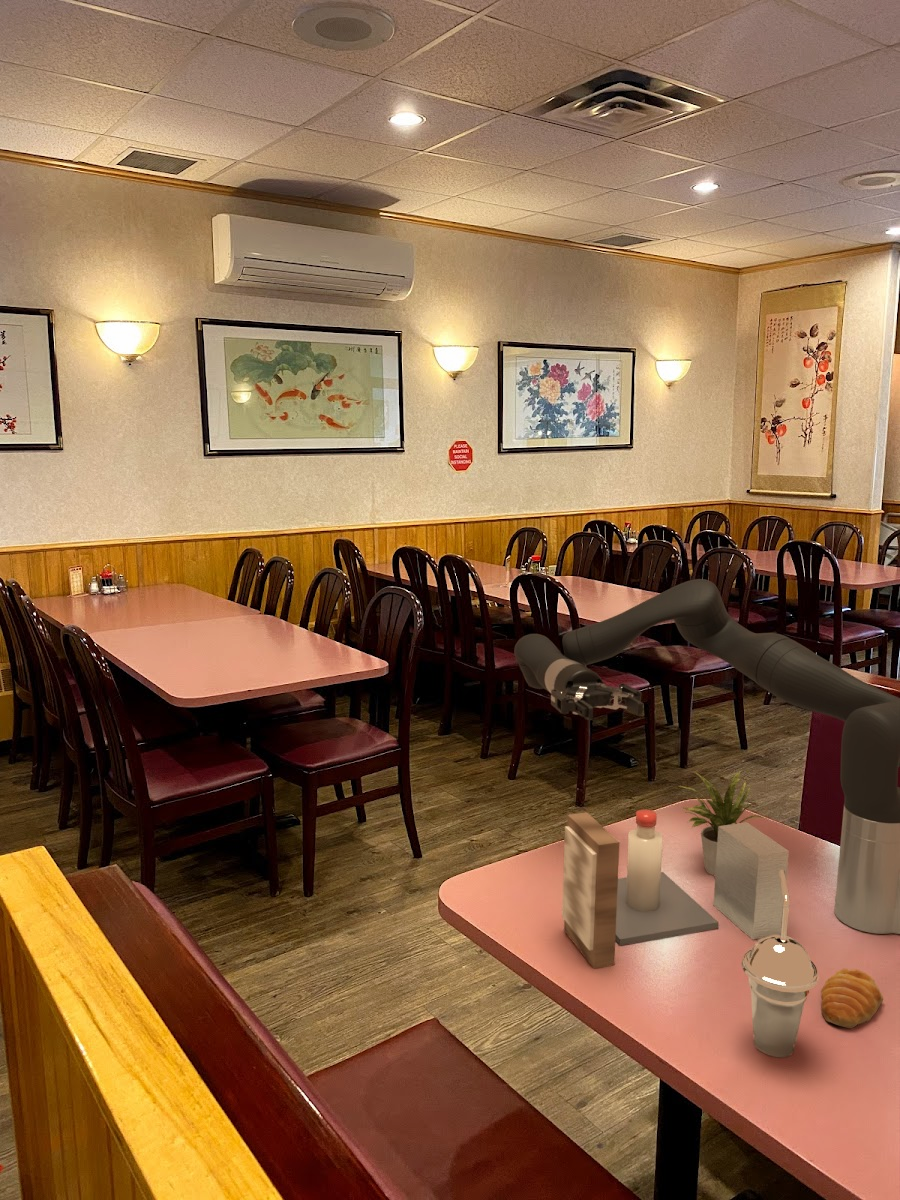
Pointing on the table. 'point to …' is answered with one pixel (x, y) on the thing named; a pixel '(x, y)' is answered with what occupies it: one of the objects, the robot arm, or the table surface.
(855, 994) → the pastry
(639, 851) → the sauce bottle
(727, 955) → the table surface
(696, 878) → the table surface
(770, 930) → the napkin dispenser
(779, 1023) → the cup with straw
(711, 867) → the house plant
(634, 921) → the slate tray
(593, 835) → the stand
